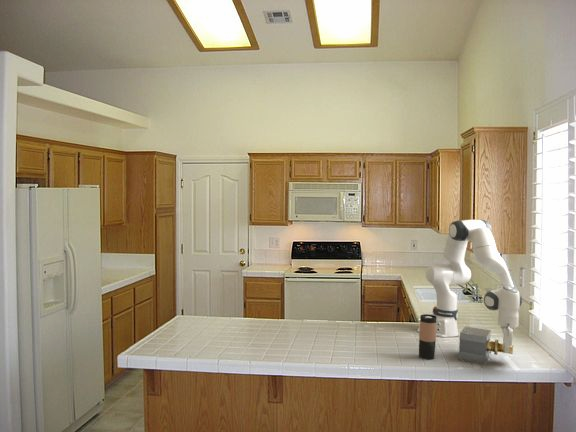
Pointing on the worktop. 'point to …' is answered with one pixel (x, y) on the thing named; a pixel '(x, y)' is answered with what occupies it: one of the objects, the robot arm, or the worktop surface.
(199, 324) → the worktop surface
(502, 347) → the brass collar peg
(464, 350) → the housing
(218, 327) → the worktop surface
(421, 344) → the travel mug
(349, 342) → the worktop surface
